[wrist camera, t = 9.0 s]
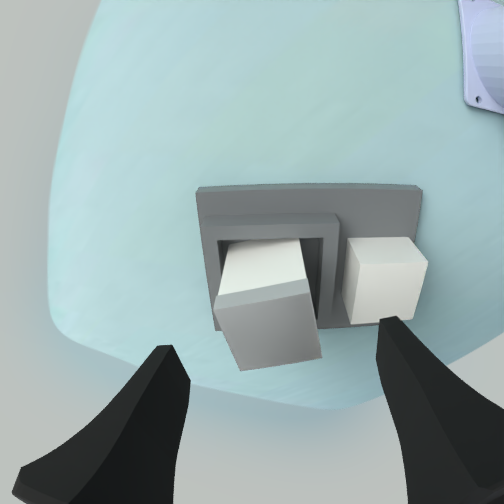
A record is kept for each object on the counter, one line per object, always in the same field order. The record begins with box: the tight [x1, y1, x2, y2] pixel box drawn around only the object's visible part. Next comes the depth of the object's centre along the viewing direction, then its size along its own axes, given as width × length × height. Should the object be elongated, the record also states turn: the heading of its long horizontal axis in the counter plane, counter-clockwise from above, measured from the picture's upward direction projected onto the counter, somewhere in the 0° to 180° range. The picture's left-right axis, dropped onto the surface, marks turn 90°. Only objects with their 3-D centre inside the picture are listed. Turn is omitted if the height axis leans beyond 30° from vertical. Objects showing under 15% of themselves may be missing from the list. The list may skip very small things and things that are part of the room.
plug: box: [213, 238, 322, 371], centre depth 16 cm, size 4×4×6 cm
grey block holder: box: [196, 183, 428, 331], centre depth 18 cm, size 13×10×4 cm
